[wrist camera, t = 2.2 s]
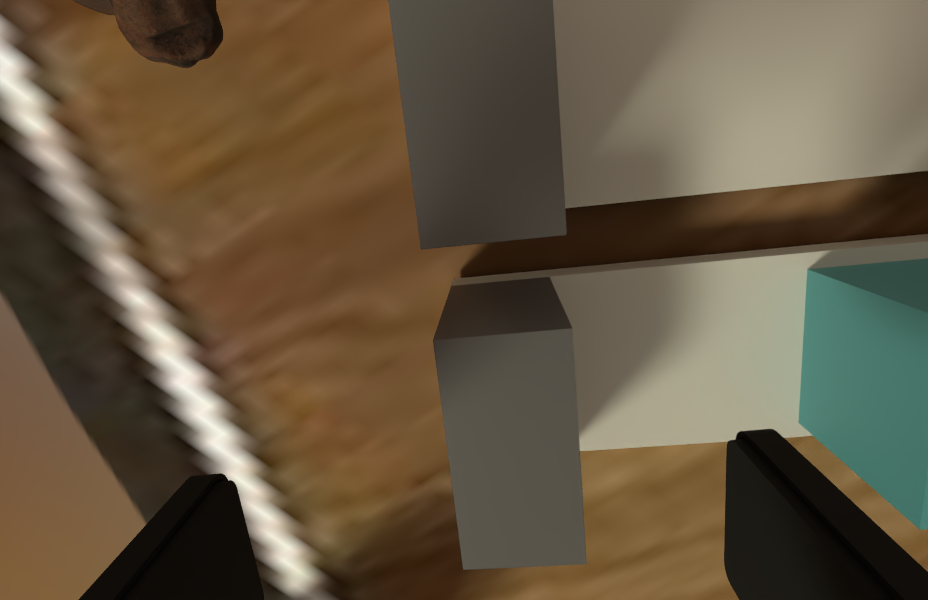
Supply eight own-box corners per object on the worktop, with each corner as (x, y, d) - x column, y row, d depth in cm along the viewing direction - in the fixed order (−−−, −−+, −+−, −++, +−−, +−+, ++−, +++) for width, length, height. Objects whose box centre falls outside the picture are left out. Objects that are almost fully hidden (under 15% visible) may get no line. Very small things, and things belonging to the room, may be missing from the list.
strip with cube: (1052, 221, 16) (1374, 260, 10) (1020, 405, 17) (1284, 530, 12) (454, 278, 17) (433, 340, 12) (473, 442, 19) (463, 569, 13)
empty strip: (1106, -86, 14) (1548, -261, 8) (1064, 153, 15) (1411, 150, 9) (422, 8, 15) (377, -82, 9) (446, 217, 17) (420, 249, 11)
